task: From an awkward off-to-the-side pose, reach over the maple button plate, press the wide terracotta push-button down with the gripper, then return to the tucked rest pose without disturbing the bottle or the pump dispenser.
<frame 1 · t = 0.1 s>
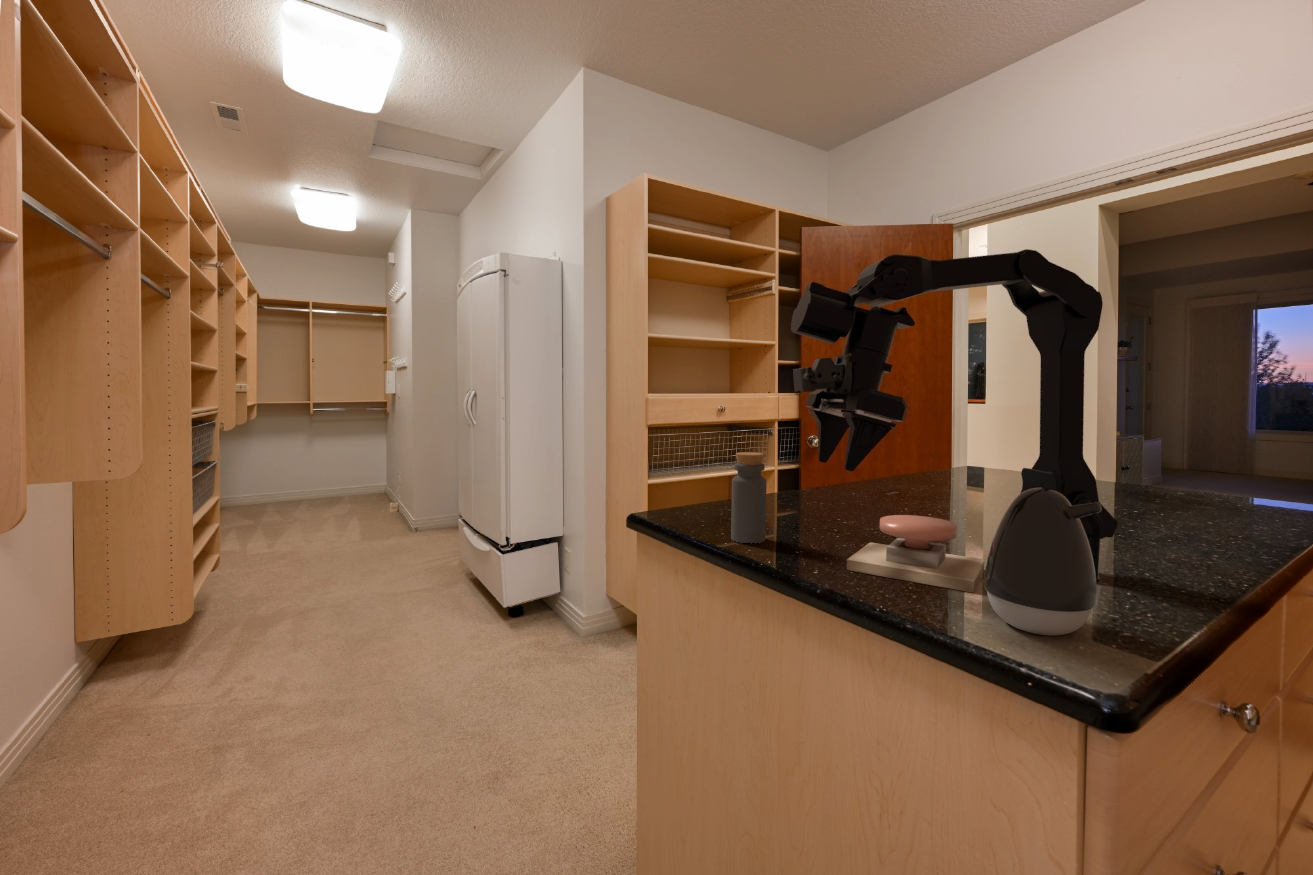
hand: (834, 466, 77), 15 cm above the countertop, tool pointing down, fingers open, 9 cm apart
bottle: (748, 541, 99), on the countertop
pump dispenser: (1036, 628, 62), on the countertop
button: (917, 534, 82), point 5 cm above the countertop, slide at 0.0 cm
button base: (915, 569, 82), on the countertop
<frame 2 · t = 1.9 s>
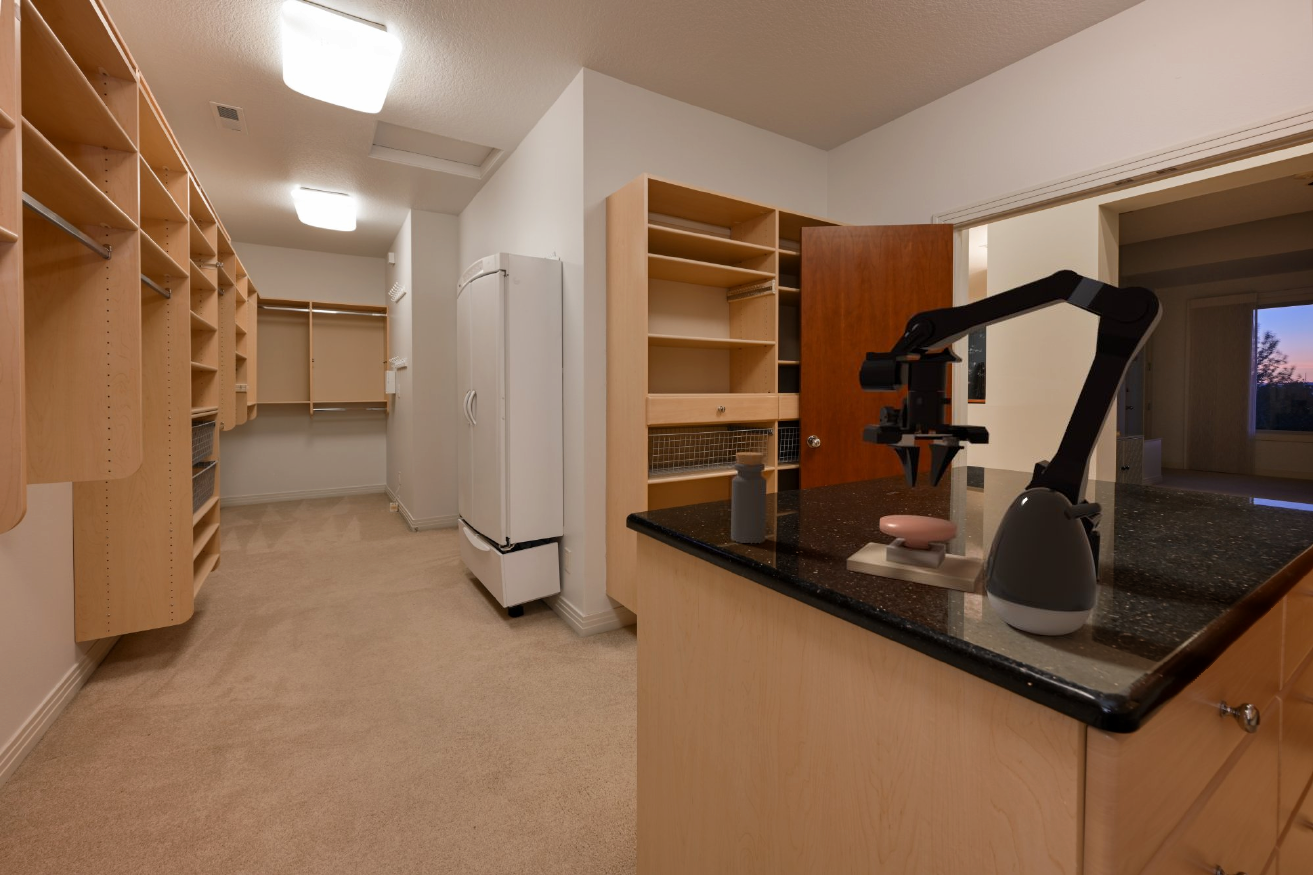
hand: (922, 486, 94), 10 cm above the countertop, tool pointing down, fingers open, 3 cm apart
nothing on the countertop moved.
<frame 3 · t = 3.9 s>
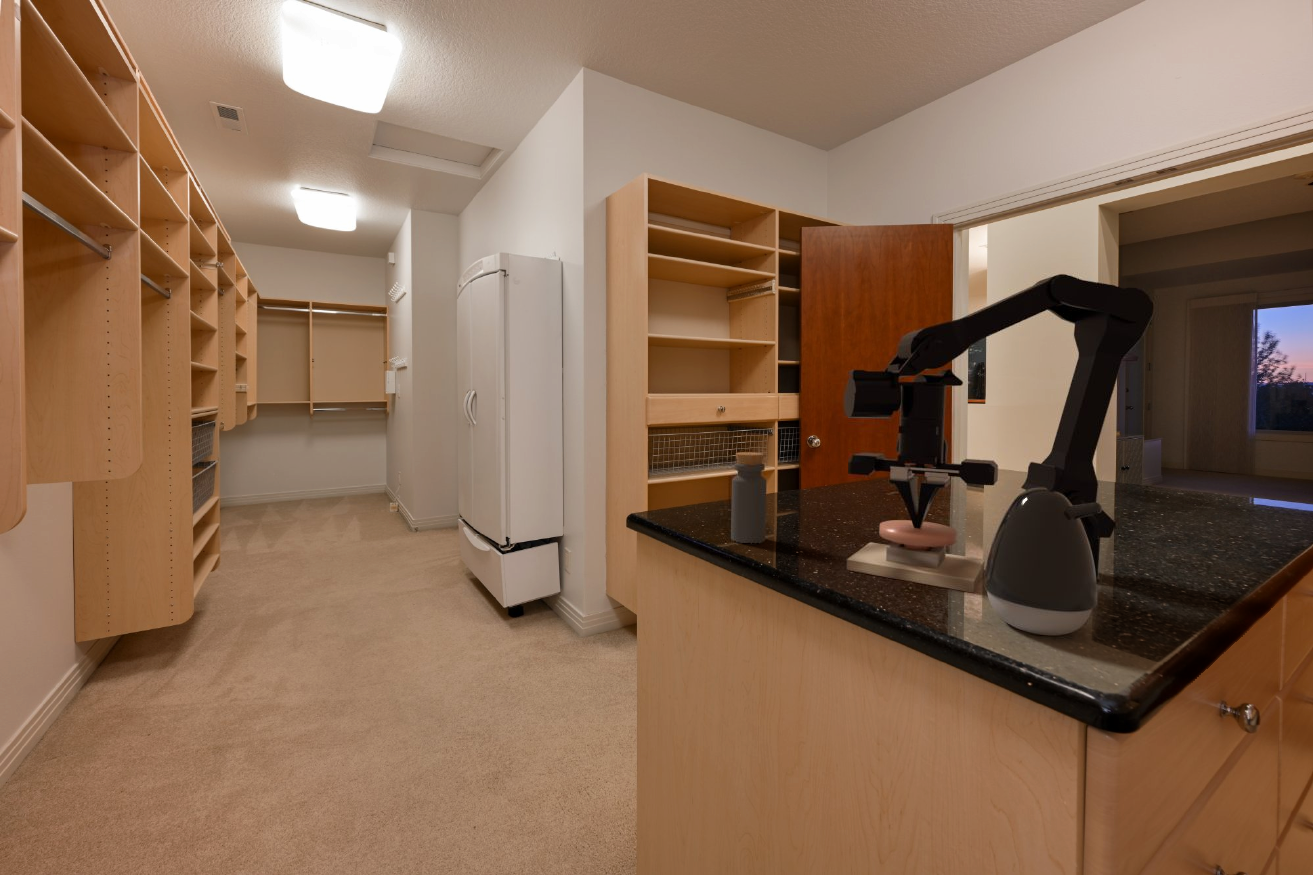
hand: (917, 527, 82), 6 cm above the countertop, tool pointing down, fingers closed, pressing on button
button: (916, 539, 82), point 4 cm above the countertop, slide at 0.8 cm, touching gripper
everything else where it was.
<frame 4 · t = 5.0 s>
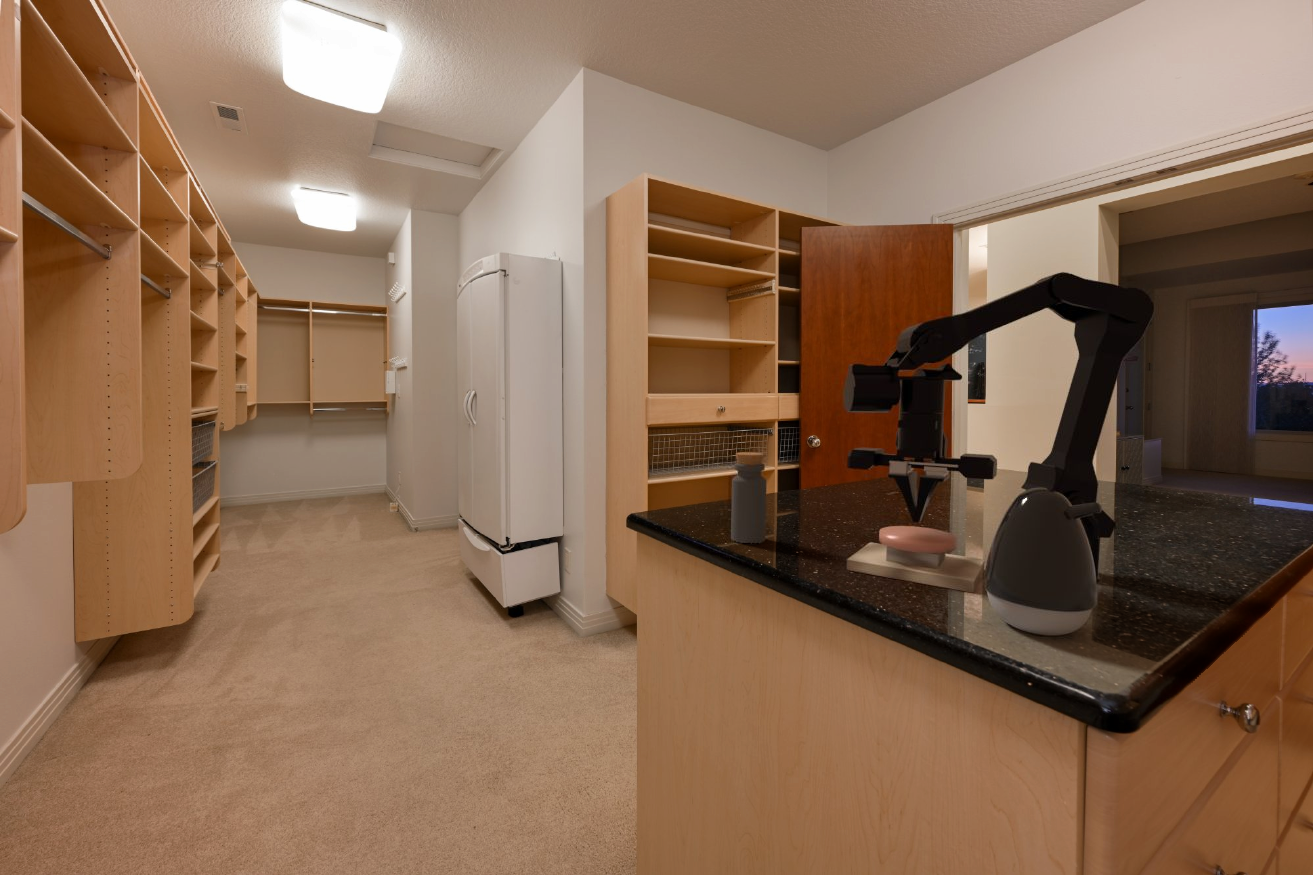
hand: (916, 522, 82), 7 cm above the countertop, tool pointing down, fingers closed
button: (916, 545, 82), point 4 cm above the countertop, slide at 1.7 cm
everything else where it was.
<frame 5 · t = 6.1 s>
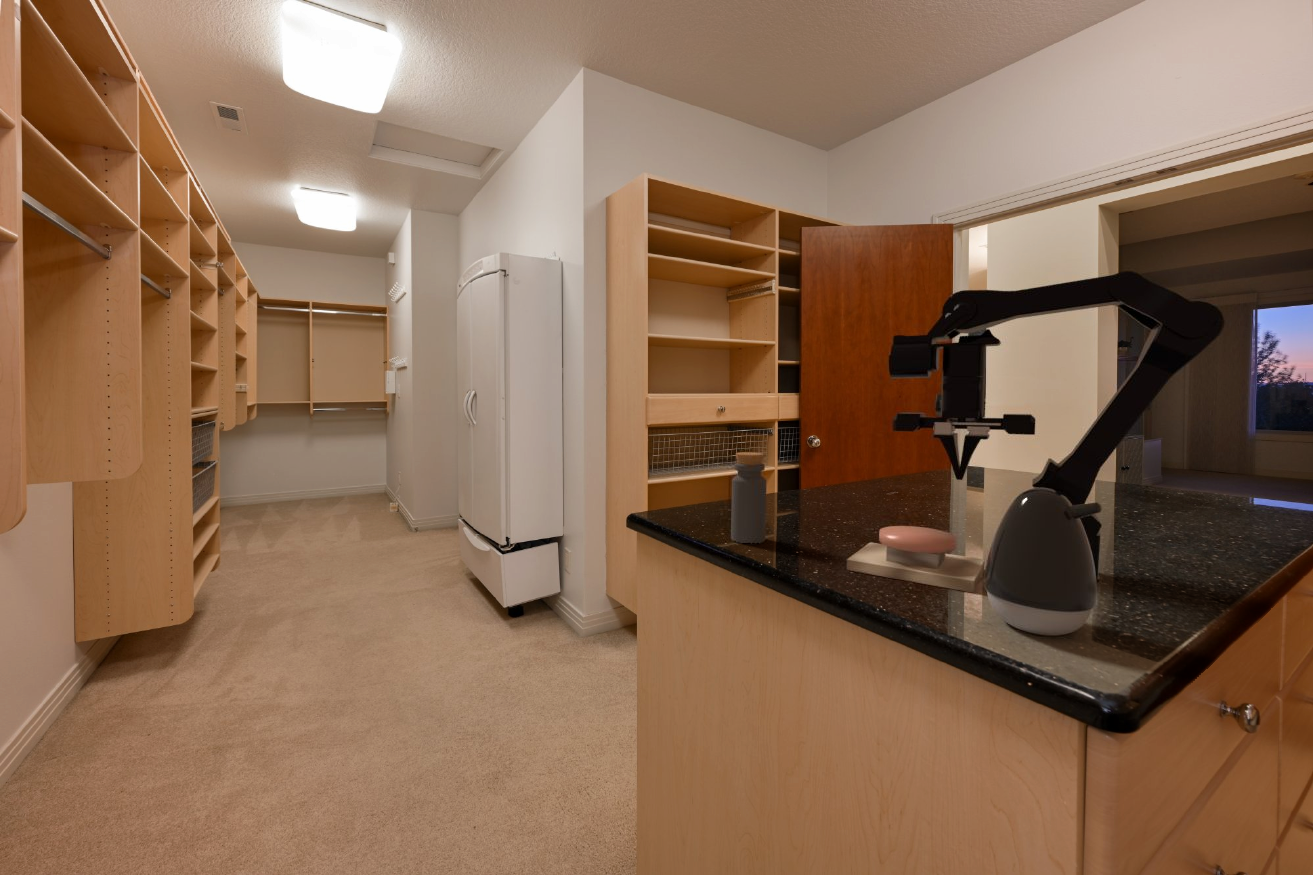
hand: (959, 479, 88), 12 cm above the countertop, tool pointing down, fingers closed
nothing on the countertop moved.
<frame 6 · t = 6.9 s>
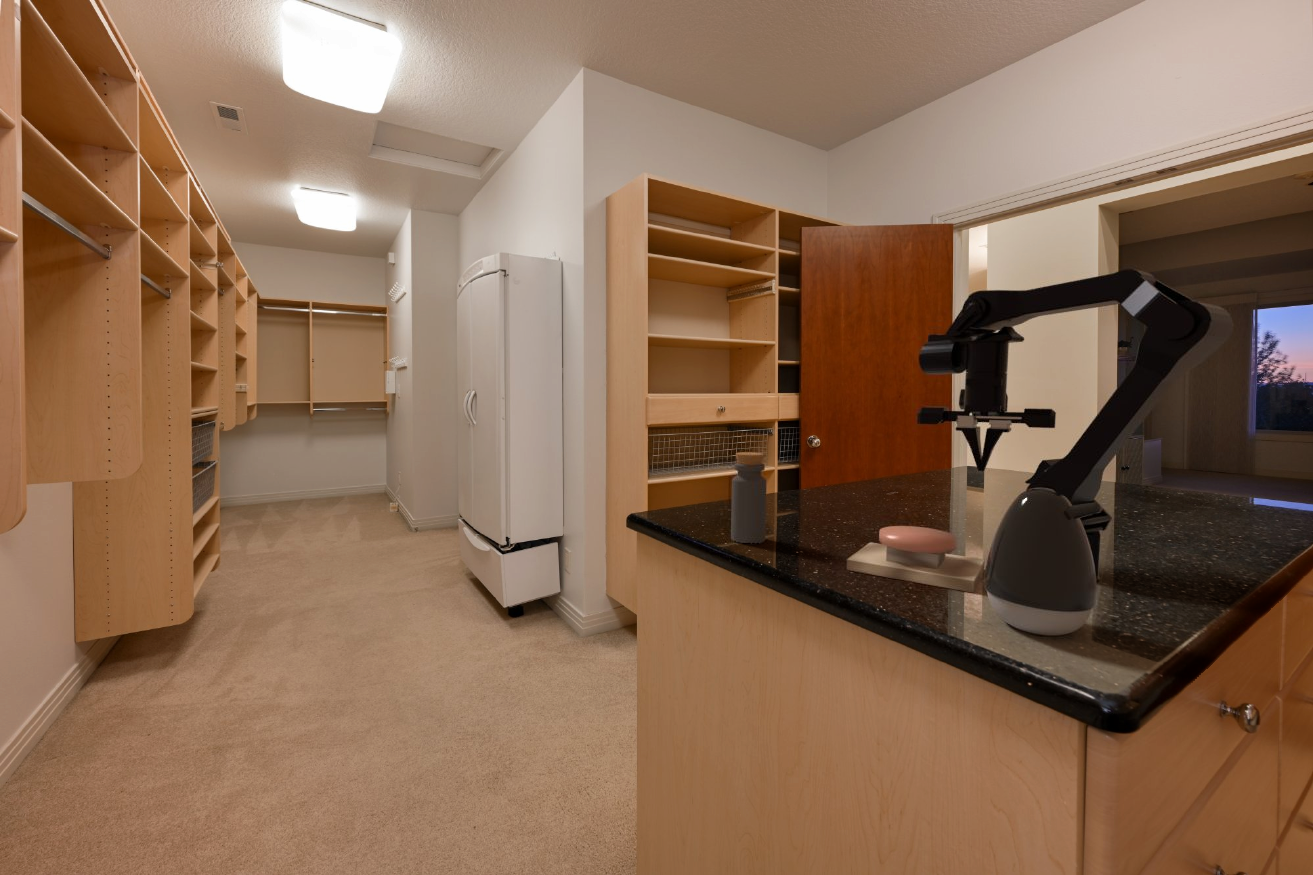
hand: (981, 470, 92), 13 cm above the countertop, tool pointing down, fingers closed
nothing on the countertop moved.
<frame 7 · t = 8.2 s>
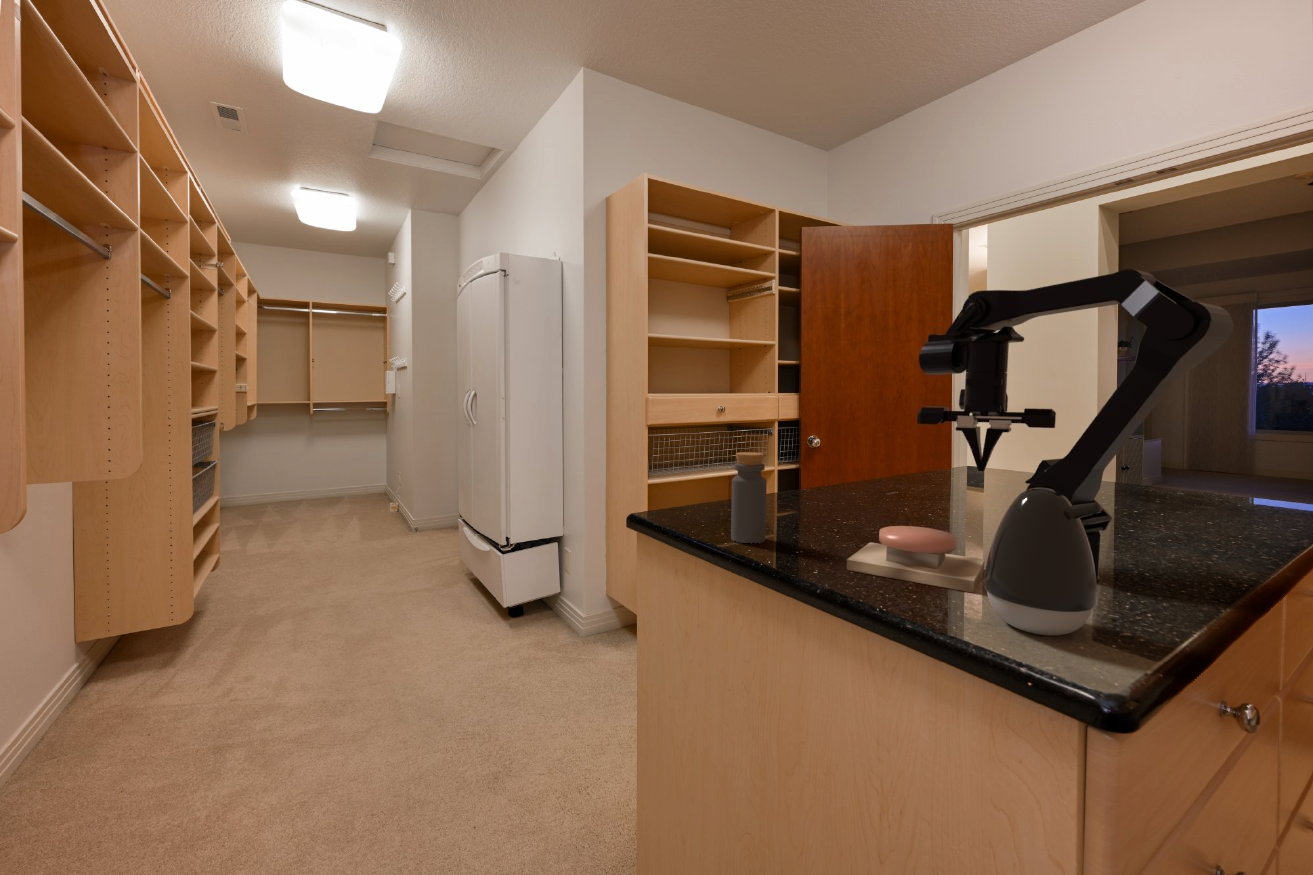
hand: (981, 470, 92), 13 cm above the countertop, tool pointing down, fingers closed
nothing on the countertop moved.
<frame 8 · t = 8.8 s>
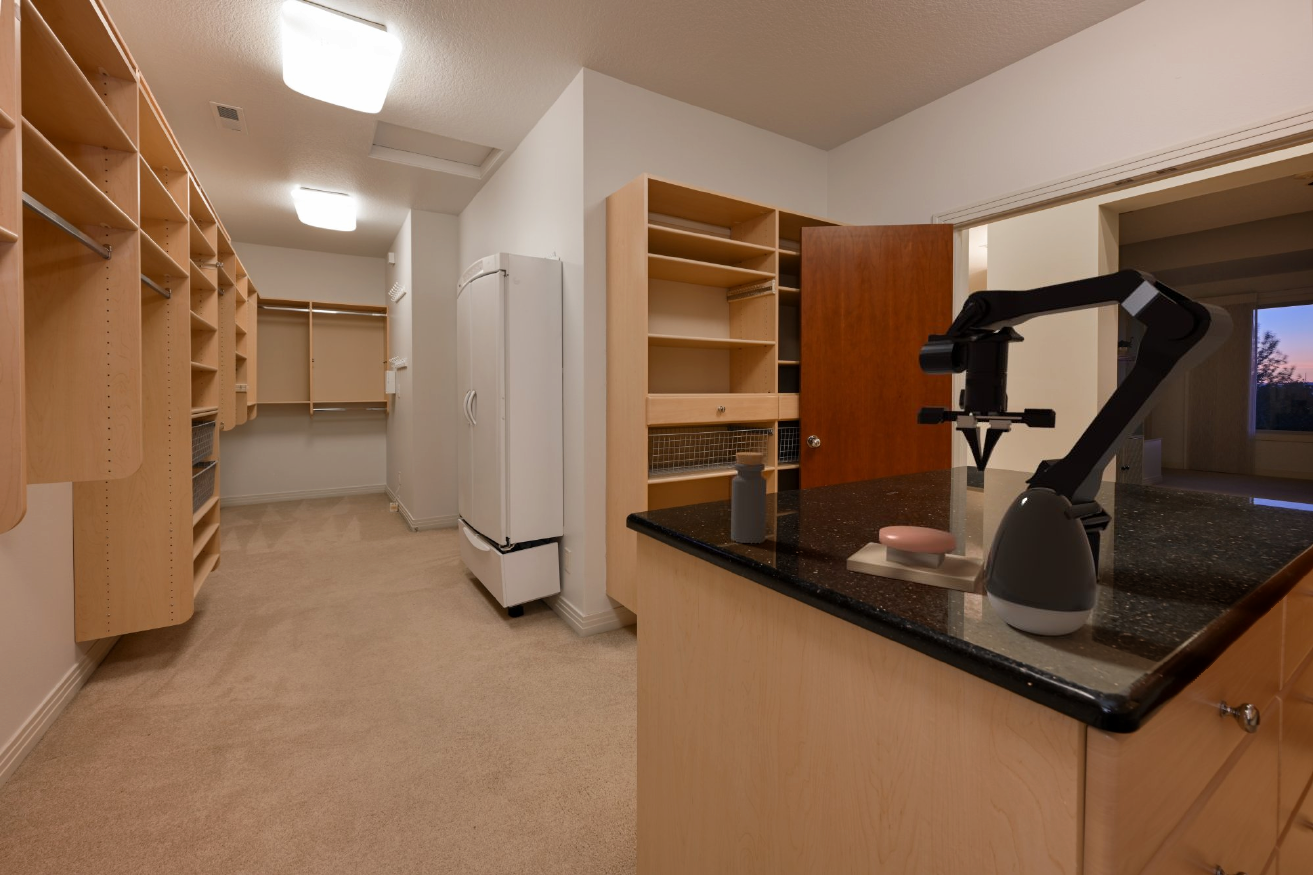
hand: (981, 470, 92), 13 cm above the countertop, tool pointing down, fingers closed
nothing on the countertop moved.
at the end: button slide at 1.7 cm; bottle moved 0.2 cm from its start; pump dispenser moved 0.2 cm from its start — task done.
